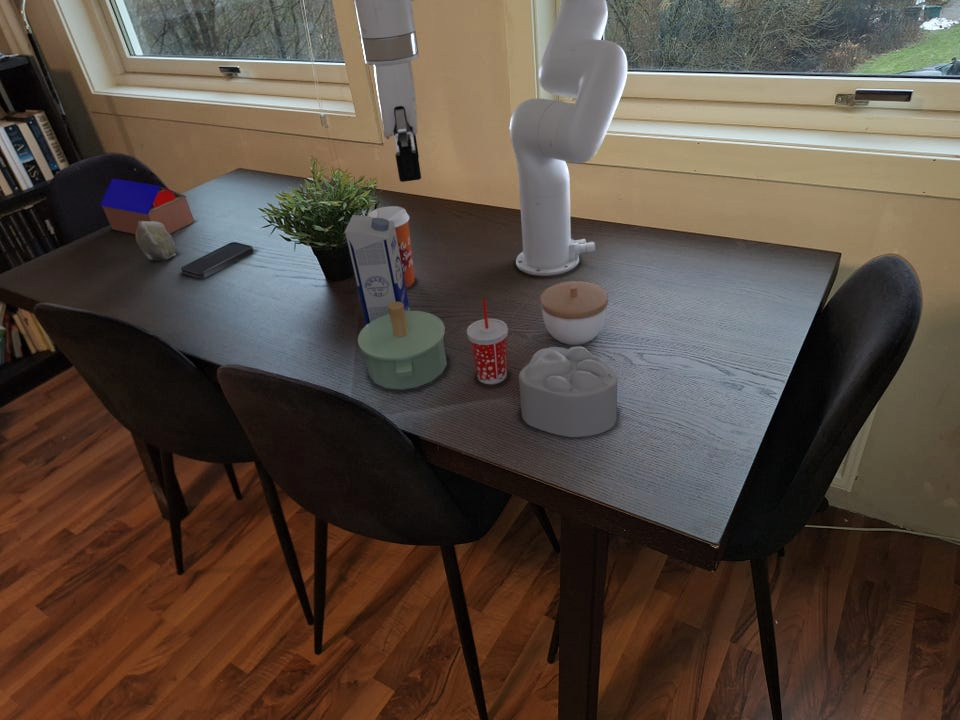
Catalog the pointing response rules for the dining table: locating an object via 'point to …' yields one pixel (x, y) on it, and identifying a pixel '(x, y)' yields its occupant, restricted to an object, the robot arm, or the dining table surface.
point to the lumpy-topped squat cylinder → (568, 392)
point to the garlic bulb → (155, 240)
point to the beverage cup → (489, 348)
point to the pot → (408, 369)
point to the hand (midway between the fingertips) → (409, 169)
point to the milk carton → (376, 265)
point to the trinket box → (574, 311)
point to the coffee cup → (399, 237)
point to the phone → (217, 260)
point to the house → (144, 206)
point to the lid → (401, 334)
